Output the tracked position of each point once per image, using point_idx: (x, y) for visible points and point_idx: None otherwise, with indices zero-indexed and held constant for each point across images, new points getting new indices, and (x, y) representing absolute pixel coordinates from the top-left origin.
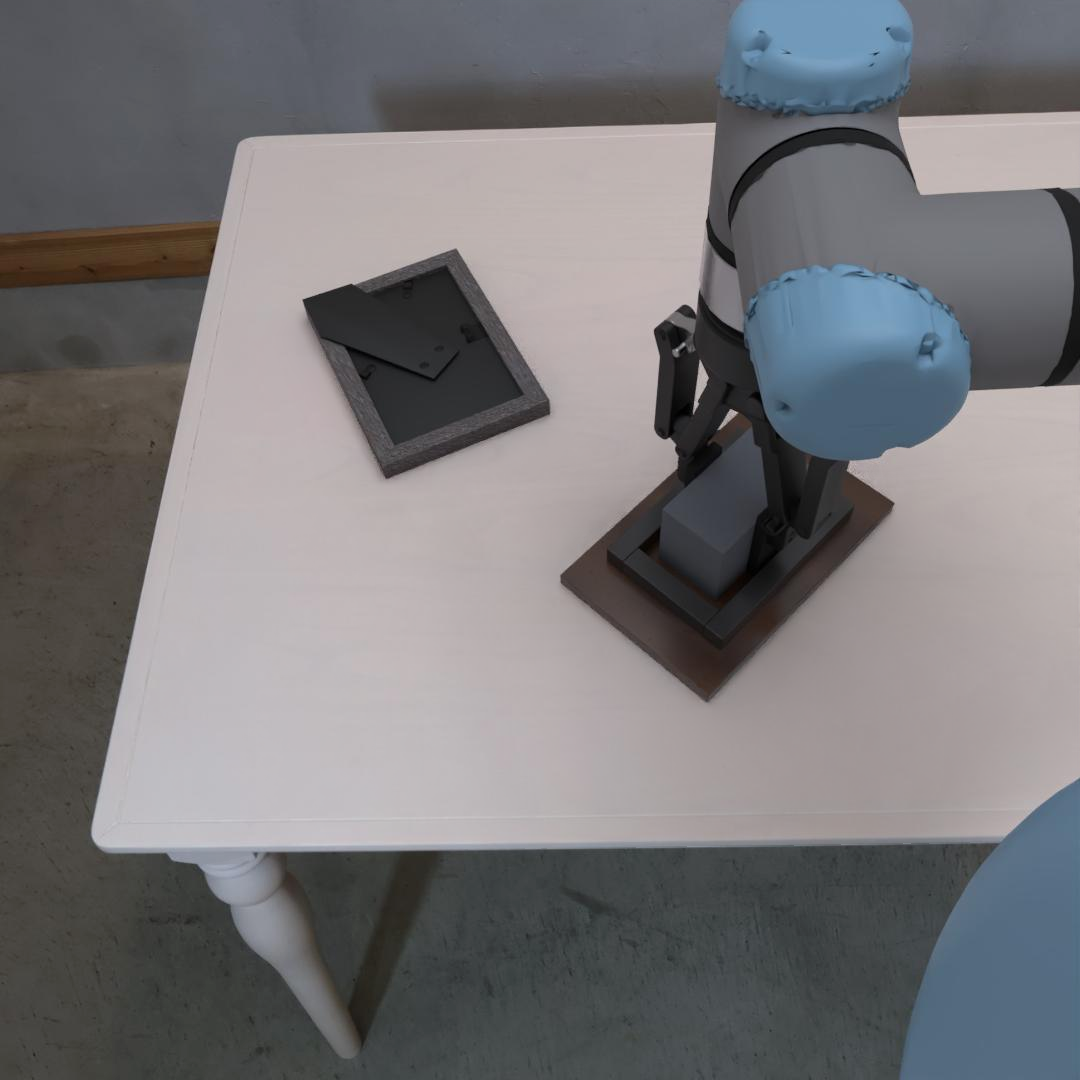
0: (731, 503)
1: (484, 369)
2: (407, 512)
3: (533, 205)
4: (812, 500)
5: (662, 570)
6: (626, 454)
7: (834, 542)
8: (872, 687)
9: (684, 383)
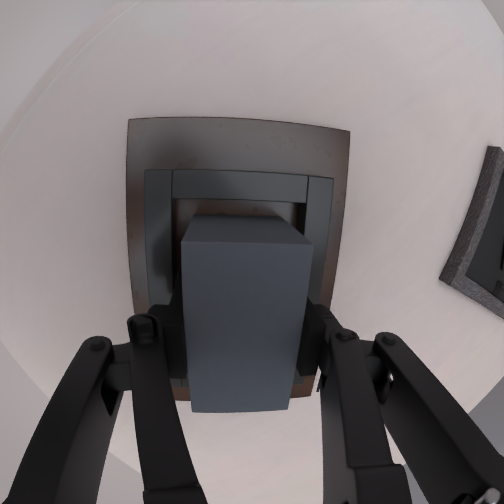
0: (233, 320)
1: (487, 271)
2: (466, 126)
3: (480, 376)
4: (59, 409)
5: (262, 196)
6: (373, 294)
7: None
8: (45, 248)
9: (420, 438)
